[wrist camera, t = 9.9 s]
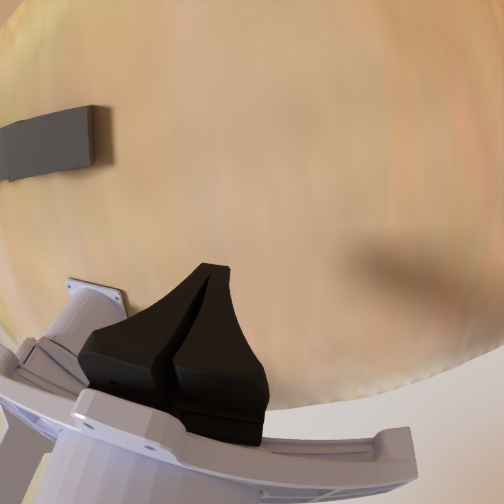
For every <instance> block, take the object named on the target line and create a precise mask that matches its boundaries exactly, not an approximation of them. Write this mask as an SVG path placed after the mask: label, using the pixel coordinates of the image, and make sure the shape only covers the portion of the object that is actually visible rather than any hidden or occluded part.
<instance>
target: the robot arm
mask: <svg viewBox="0 0 504 504" xmlns="http://www.w3.org/2000/svg"><path fill="white" fill-rule="evenodd" d="M229 281H230V268H229V267H228V266H222V265H215V264H208V263H201V264H200V265H199V266H198V267H197V268H196V269H195V270H194V271H193V272H192V273H191V274H190V275H189V276H188V277H187V278H186V279H185V280H184V281H183V282H181V283H180V284H179V285H178V286H177V287H176V288H175V289H173V290H172V291H171V292H170V293H168V294H167V295H166V296H165V297H163V298H162V299H161V300H159V301H158V302H156V303H155V304H153V305H152V306H150V307H149V308H147V309H145V310H143V311H141V312H139V313H138V314H136V315H134V316H132V317H130V318H127V315H126V311H125V307H124V303H123V298H122V294H121V292H120V291H119V290H116V289H112V288H107V287H103V286H99V285H94V284H90V283H86V282H82V281H78V280H74V279H70V278H67V279H66V280H65V283H66V286H67V289H68V292H69V294H70V297H71V298H70V300H69V301H68V302H67V303H66V305H65V306H64V307H63V309H62V310H61V311H60V313H59V314H58V315H57V317H56V318H55V319H54V321H53V322H52V323H51V325H50V326H49V328H48V329H47V330H46V332H45V333H44V335H43V336H42V337H41V338H40V339H39V340H38V342H37V343H36V341H37V340H36V339H35V338H34V337H32V338H26V339H25V341H24V342H23V344H22V345H21V347H20V348H19V349H18V351H17V352H16V354H14V353H13V352H12V351H11V350H10V349H8V348H6V347H5V346H3V345H1V344H0V410H1V413H2V415H3V418H4V420H5V423H6V426H5V427H4V429H3V431H2V433H1V435H0V504H21V503H22V501H23V498H24V496H25V494H26V491H27V489H28V487H29V485H30V482H31V480H32V478H33V476H34V473H35V471H36V469H37V467H38V465H39V463H40V461H41V459H42V457H43V455H44V453H50V452H51V453H52V454H51V456H50V459H49V461H48V464H47V466H46V469H45V471H44V474H43V477H42V480H41V482H40V485H39V488H38V491H37V494H36V497H35V500H34V503H33V504H297V503H298V504H299V503H315V502H327V501H336V500H343V499H351V498H358V497H364V496H371V495H376V494H382V493H387V492H389V491H391V490H394V489H396V488H398V487H401V486H403V485H405V484H407V483H409V482H411V481H413V480H415V479H417V478H418V472H417V465H416V458H415V453H414V447H413V441H412V436H411V431H410V428H409V427H401V428H392V429H386V430H383V431H380V432H379V433H377V434H376V436H375V437H374V438H363V439H346V440H298V439H296V440H295V439H278V438H266V437H262V431H263V424H264V418H265V411H266V408H267V405H268V403H269V398H270V395H269V386H268V382H267V378H266V374H265V371H264V368H263V366H262V364H261V363H260V362H259V360H258V359H257V357H256V356H255V354H254V353H253V351H252V349H251V348H250V346H249V344H248V342H247V340H246V338H245V337H244V335H243V333H242V330H241V328H240V326H239V323H238V320H237V318H236V315H235V312H234V308H233V304H232V300H231V295H230V289H229Z"/></svg>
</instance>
